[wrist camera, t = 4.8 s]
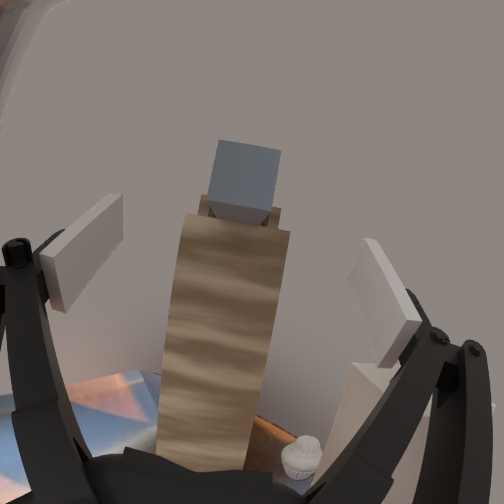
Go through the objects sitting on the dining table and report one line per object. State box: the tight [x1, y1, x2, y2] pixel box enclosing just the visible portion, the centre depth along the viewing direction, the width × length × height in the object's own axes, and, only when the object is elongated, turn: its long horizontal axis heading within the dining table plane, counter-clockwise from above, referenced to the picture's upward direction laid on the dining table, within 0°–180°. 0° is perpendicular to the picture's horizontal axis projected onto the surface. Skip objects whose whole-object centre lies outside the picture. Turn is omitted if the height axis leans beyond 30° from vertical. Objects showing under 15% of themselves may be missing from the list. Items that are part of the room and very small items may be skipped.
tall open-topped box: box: [156, 194, 290, 472], centre depth 37 cm, size 16×10×35 cm, turn 3°
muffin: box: [281, 435, 323, 480], centre depth 35 cm, size 6×6×7 cm
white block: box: [309, 362, 496, 504], centre depth 18 cm, size 10×8×22 cm
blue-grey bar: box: [206, 140, 281, 226], centre depth 31 cm, size 24×4×4 cm, turn 2°
